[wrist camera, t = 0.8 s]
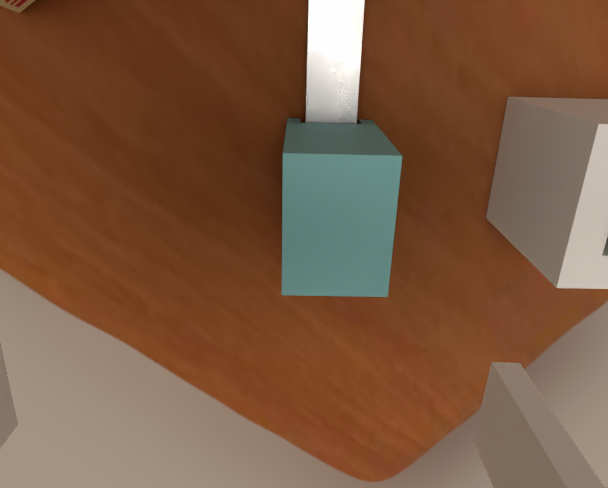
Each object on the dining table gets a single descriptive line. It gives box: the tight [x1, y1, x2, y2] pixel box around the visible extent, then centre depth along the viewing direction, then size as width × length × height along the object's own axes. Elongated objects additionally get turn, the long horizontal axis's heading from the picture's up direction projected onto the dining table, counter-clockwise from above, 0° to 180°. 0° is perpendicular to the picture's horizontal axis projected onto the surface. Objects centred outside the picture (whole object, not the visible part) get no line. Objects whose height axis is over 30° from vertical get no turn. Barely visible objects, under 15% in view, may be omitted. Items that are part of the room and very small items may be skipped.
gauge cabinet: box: [486, 97, 608, 289], centre depth 28 cm, size 9×8×10 cm
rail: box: [305, 0, 365, 124], centre depth 27 cm, size 24×5×5 cm, turn 179°
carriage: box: [282, 118, 402, 297], centre depth 27 cm, size 7×5×10 cm
